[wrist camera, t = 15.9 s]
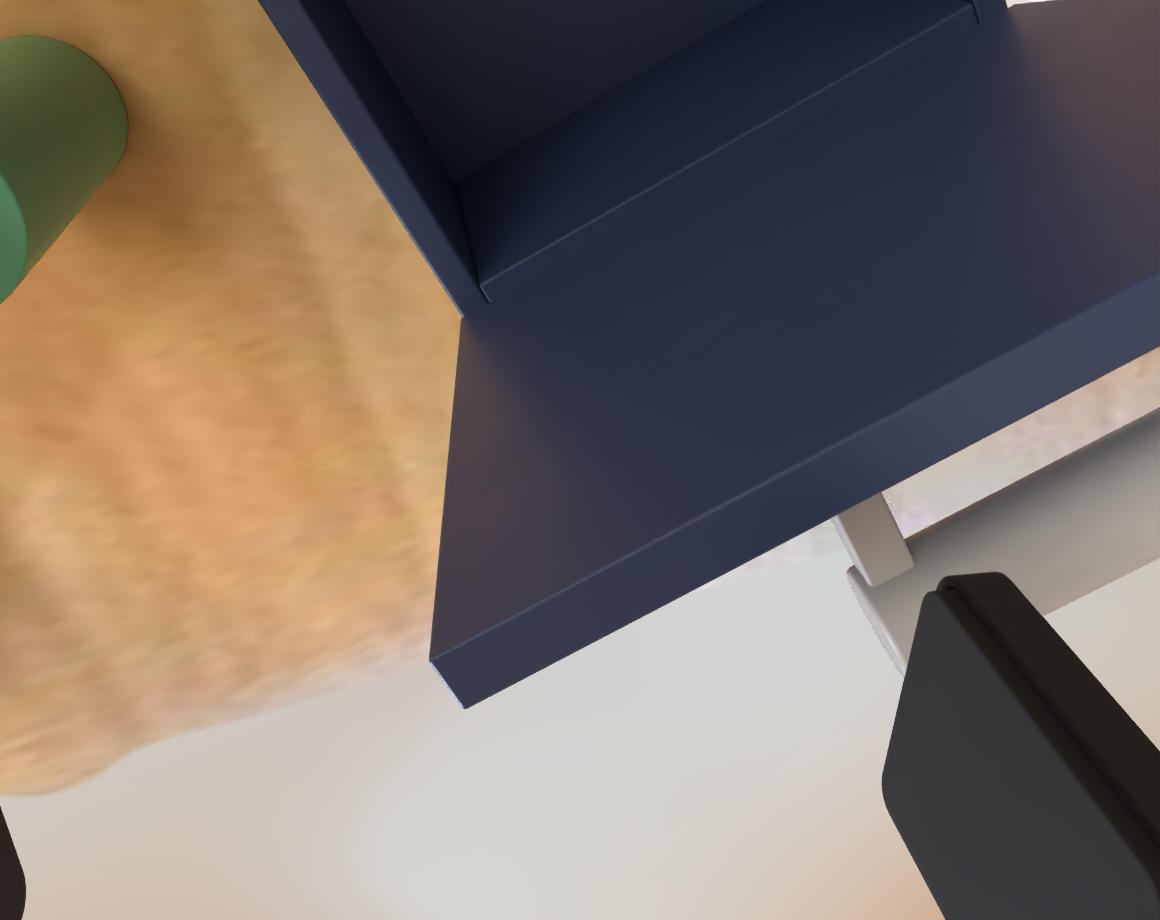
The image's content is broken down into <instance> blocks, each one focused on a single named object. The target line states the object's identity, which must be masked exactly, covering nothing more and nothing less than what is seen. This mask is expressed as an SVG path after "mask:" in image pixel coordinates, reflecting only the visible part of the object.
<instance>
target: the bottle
mask: <svg viewBox="0 0 1160 920" xmlns="http://www.w3.org/2000/svg"><path fill="white" fill-rule="evenodd" d="M127 138H128V122H127V115H126V110H125V106H124V104H123V101H122V98H121V96H120V94H119V92H118V90H117V88H116V86H115V85H114V83H113V82H112V80H111V79H110V77H109V76H108V75H107V74H106V72H105V71H104V70H103V69H102V68H101V67H100V66H99V65H98V64H97V63H96V62H95V61H94V60H93V59H91V58H90V57H89V56H87V55H86V54H85V53H83V52H81V51H80V50H78V49H77V48H75V47H73V46H71V45H69V44H66V43H64V42H62V41H59V40H56V39H52V38H48V37H43V36H33V35H27V36H16V37H11V38H7V39H4V40H1V41H0V304H1V303H2V302H3V301H4V300H5V299H6V298H8V297H9V296H10V295H11V293H12V292H13V291H14V290H15V289H16V287H17V286H18V285H19V284H20V283H21V281H22V280H23V279H24V278H25V276H26V275H27V274H28V273H29V272H30V270H31V269H32V268H33V267H34V266H35V264H36V263H37V262H38V261H39V260H40V258H41V257H42V256H43V255H44V253H45V252H46V251H47V250H48V249H49V247H50V246H51V245H52V244H53V243H54V241H55V240H56V239H57V238H58V236H59V235H60V234H61V233H62V232H63V230H64V229H65V228H66V227H67V226H68V224H69V223H70V222H71V221H72V220H73V218H74V217H75V216H76V215H77V213H78V212H79V211H80V210H81V209H82V207H83V206H84V205H85V204H86V203H87V201H88V200H89V199H90V198H91V197H92V195H93V194H94V193H95V192H96V190H97V189H98V188H99V187H100V186H101V184H102V183H103V182H104V181H105V180H106V178H107V177H108V176H109V175H110V174H111V172H112V171H113V170H114V168H115V167H116V166H117V164H118V163H119V161H120V159H121V158H122V156H123V153H124V150H125V147H126V143H127Z"/></svg>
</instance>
